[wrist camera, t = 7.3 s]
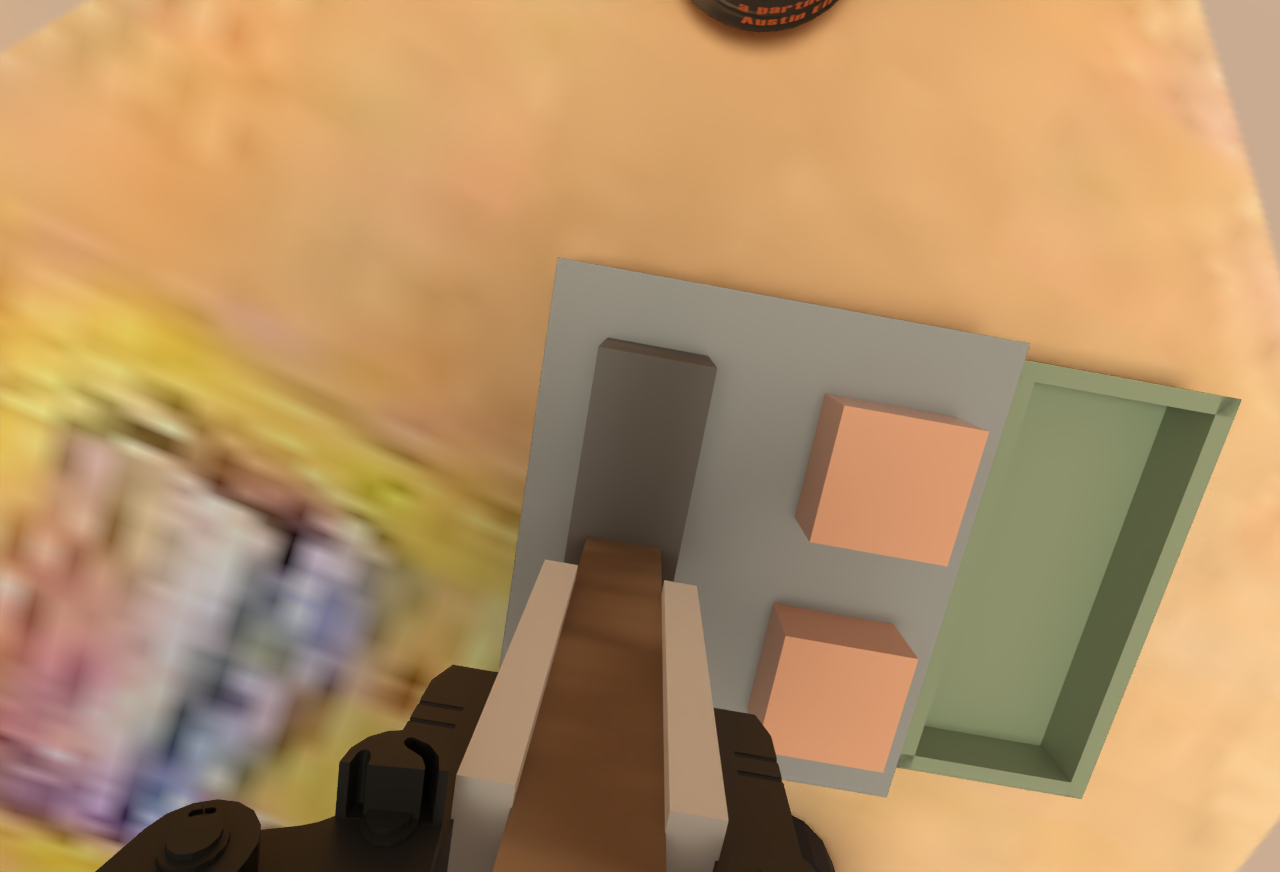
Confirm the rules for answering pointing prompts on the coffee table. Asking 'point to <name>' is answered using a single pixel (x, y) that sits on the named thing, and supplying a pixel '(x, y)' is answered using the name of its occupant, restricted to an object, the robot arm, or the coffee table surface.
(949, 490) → the tile
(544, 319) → the coffee table surface
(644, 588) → the scraper
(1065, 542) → the box
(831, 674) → the tile
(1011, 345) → the grey flat block
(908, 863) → the coffee table surface
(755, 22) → the beverage can
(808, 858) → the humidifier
